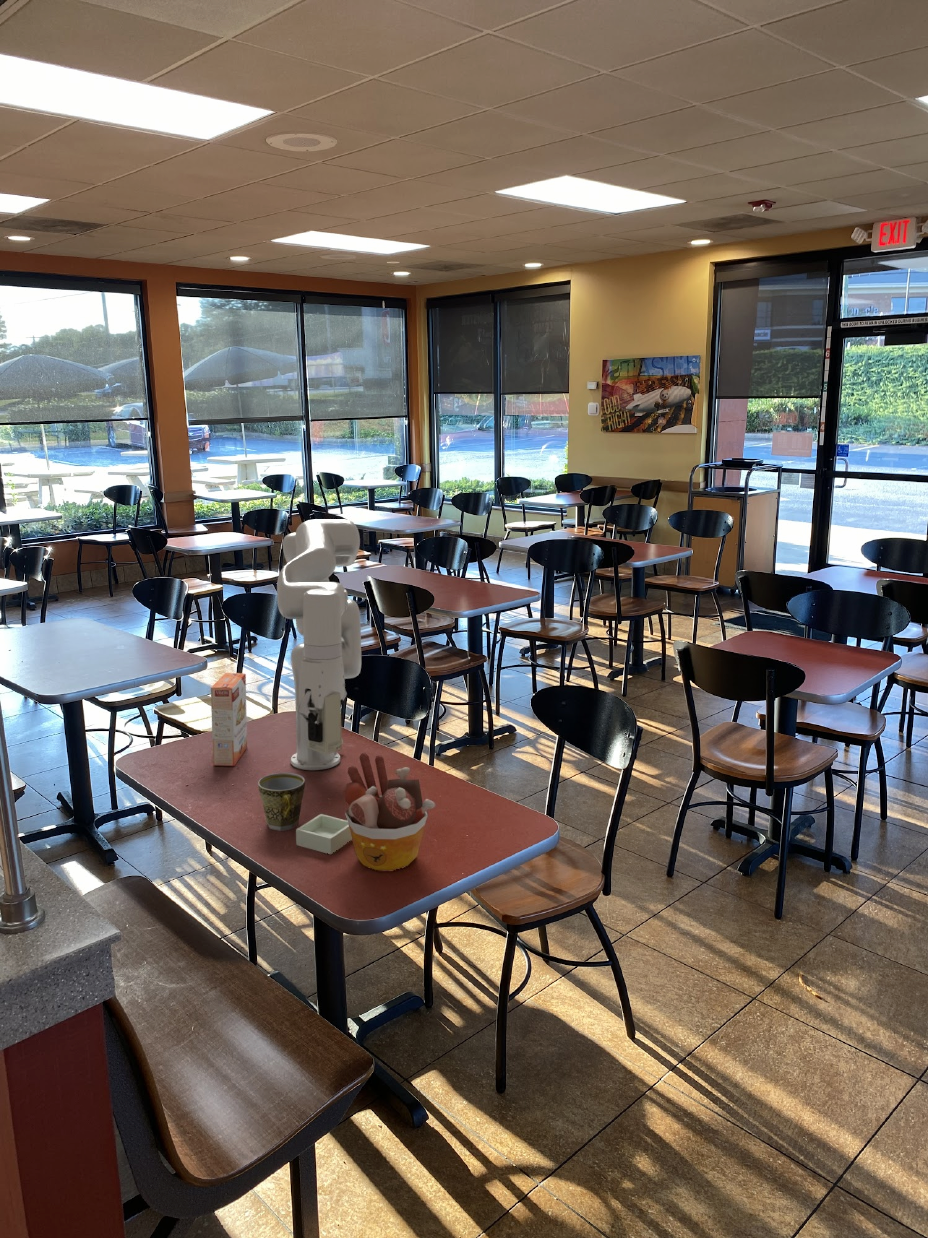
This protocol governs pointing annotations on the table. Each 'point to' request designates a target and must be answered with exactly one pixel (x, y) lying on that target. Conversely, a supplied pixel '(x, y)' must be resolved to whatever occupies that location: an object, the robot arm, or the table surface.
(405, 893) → the table surface
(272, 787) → the ceramic cup
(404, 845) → the bucket of meat
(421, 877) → the table surface
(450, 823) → the table surface
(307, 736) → the robot arm
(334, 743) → the skincare box
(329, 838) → the holder
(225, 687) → the cracker box
